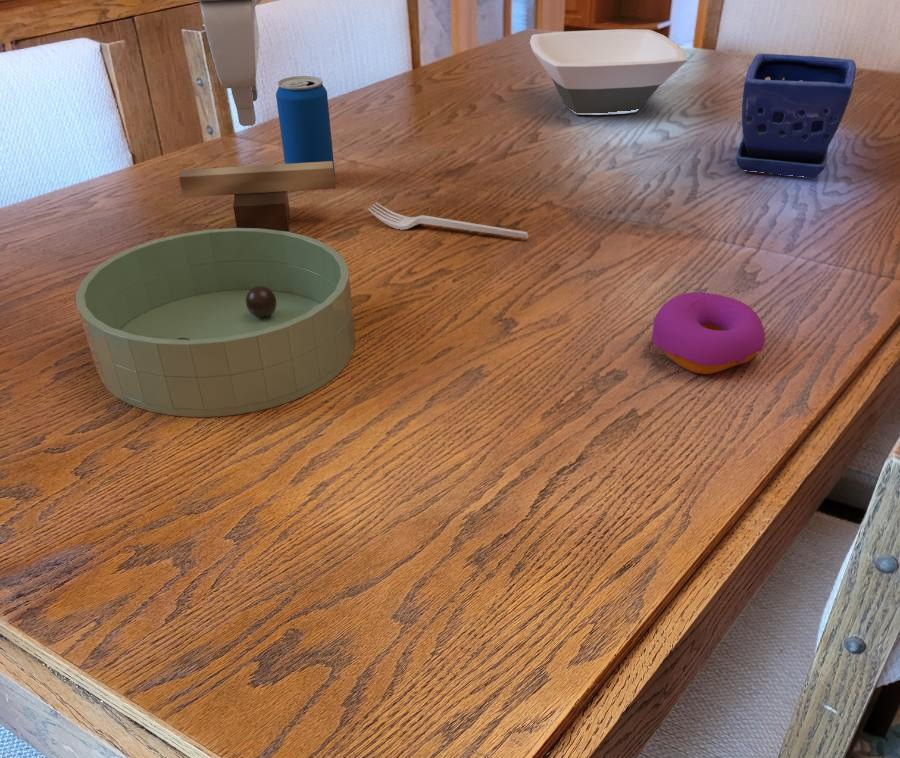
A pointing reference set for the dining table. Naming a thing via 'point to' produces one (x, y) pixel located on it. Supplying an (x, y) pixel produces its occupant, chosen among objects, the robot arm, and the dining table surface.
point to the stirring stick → (257, 179)
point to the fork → (437, 223)
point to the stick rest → (262, 210)
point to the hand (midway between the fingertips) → (249, 111)
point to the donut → (707, 332)
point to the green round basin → (218, 321)
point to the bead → (261, 302)
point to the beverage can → (304, 120)
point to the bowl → (607, 66)
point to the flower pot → (792, 112)
